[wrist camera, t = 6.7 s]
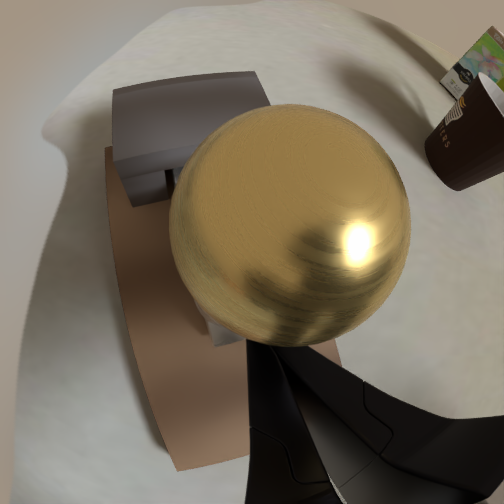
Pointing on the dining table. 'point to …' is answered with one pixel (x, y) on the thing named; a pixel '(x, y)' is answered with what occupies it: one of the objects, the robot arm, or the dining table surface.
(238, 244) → the knob
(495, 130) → the coffee mug
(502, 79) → the tea box
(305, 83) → the dining table surface
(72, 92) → the dining table surface
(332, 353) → the plate
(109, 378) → the dining table surface
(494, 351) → the dining table surface
